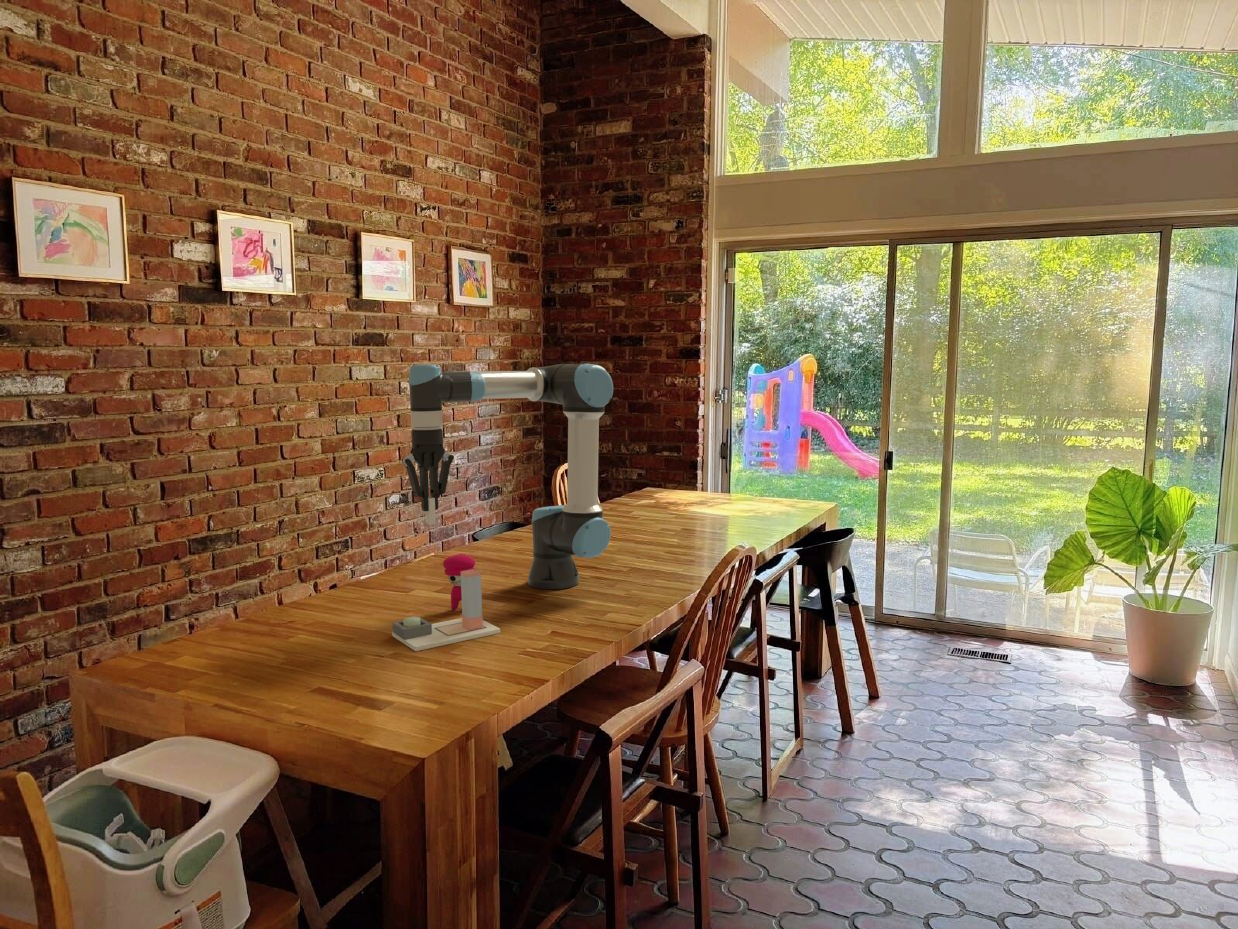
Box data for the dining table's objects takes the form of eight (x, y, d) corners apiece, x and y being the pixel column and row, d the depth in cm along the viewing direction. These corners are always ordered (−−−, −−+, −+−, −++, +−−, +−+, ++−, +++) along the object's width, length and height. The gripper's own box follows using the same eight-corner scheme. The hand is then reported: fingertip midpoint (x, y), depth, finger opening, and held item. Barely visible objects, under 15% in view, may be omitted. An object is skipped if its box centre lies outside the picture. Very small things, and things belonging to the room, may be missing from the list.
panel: (474, 619, 227) (474, 606, 226) (500, 632, 215) (500, 619, 215) (392, 636, 214) (391, 622, 213) (415, 651, 203) (414, 636, 202)
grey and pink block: (475, 624, 219) (474, 569, 217) (482, 627, 216) (481, 572, 214) (462, 627, 217) (460, 571, 215) (469, 630, 214) (467, 574, 212)
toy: (445, 615, 230) (443, 559, 228) (443, 606, 238) (441, 552, 236) (478, 612, 232) (476, 557, 231) (475, 604, 240) (473, 550, 238)
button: (416, 627, 215) (416, 615, 215) (423, 631, 212) (423, 619, 212) (401, 630, 213) (400, 618, 213) (407, 634, 210) (407, 622, 209)
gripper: (445, 425, 221) (448, 518, 224) (395, 428, 213) (399, 524, 216) (458, 427, 215) (461, 522, 218) (407, 430, 207) (411, 529, 210)
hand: (430, 523), depth 217 cm, fingers closed
